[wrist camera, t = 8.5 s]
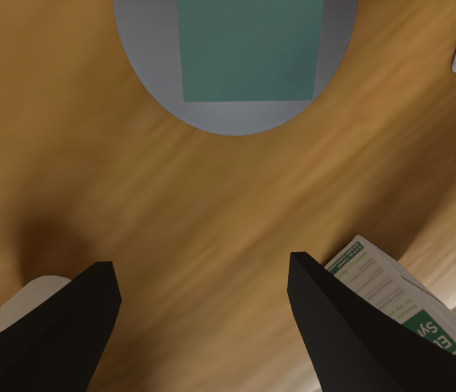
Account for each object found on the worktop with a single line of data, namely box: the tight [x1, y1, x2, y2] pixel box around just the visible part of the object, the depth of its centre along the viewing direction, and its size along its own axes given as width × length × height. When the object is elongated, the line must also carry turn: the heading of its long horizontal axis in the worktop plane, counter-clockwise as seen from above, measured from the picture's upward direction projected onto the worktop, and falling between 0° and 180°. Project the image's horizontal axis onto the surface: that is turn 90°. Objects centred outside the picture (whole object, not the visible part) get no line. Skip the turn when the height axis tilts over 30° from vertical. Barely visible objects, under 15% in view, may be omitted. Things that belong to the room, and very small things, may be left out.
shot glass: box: [0, 275, 72, 332], centre depth 19 cm, size 7×7×7 cm
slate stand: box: [113, 0, 358, 136], centre depth 14 cm, size 13×13×2 cm
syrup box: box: [324, 235, 456, 355], centre depth 16 cm, size 6×6×14 cm
